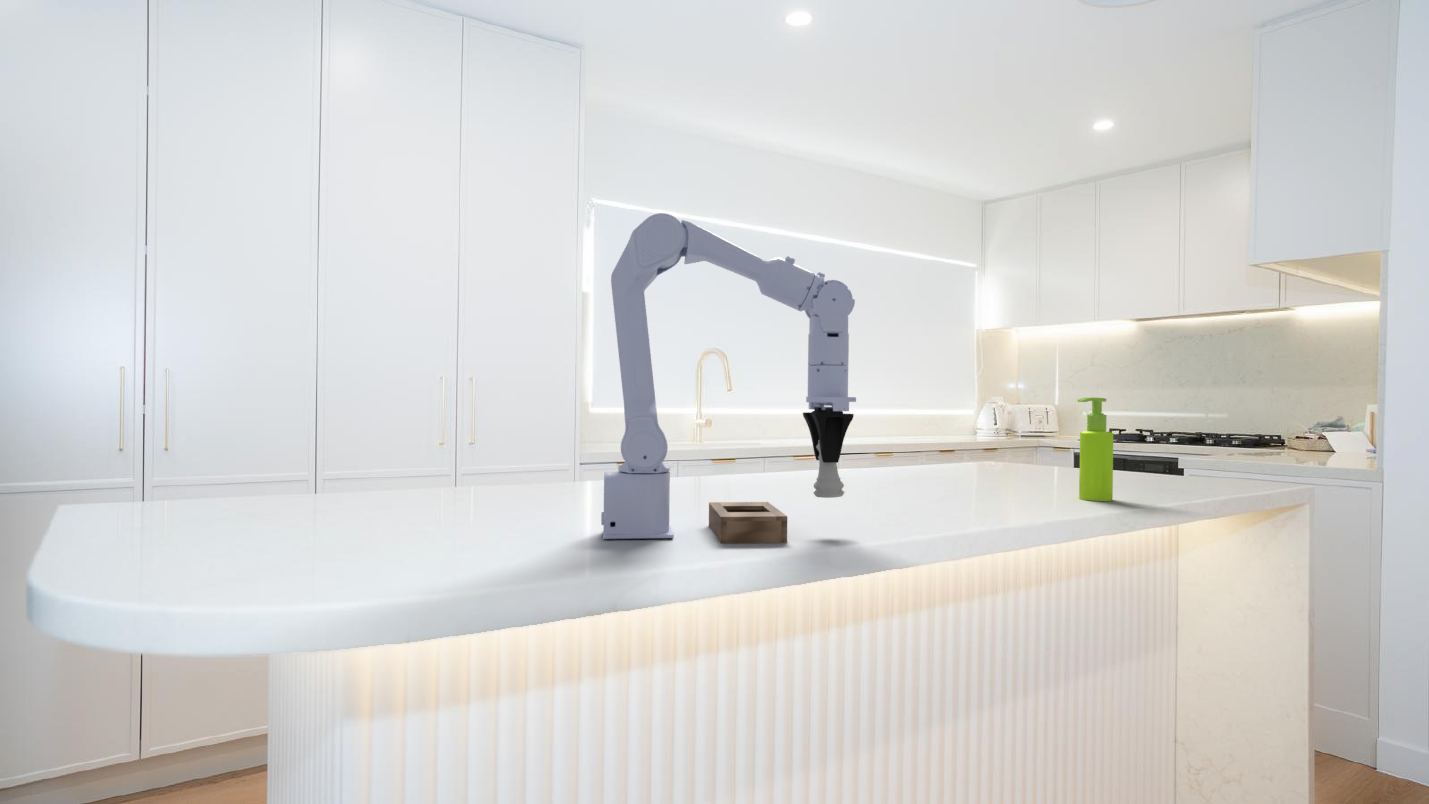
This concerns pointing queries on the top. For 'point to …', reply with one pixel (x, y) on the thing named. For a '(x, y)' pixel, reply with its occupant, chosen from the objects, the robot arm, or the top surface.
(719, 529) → the brown wooden hollow block
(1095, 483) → the soap dispenser
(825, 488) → the rook chess piece
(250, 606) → the top surface
